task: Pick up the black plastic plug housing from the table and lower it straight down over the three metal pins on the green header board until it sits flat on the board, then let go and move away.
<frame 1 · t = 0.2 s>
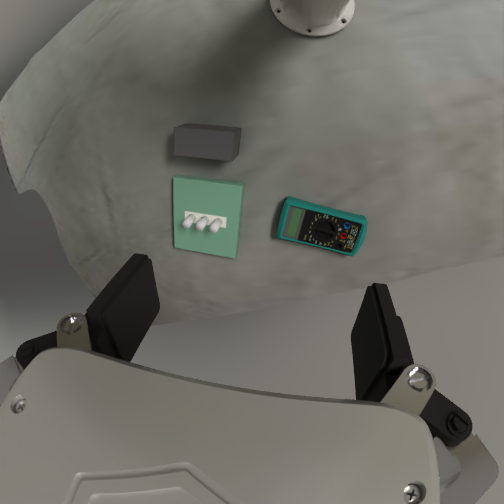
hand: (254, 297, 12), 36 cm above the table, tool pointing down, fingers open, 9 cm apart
header board: (207, 215, 51), on the table
plug housing: (211, 138, 44), on the table
digital multimeter: (321, 223, 49), on the table
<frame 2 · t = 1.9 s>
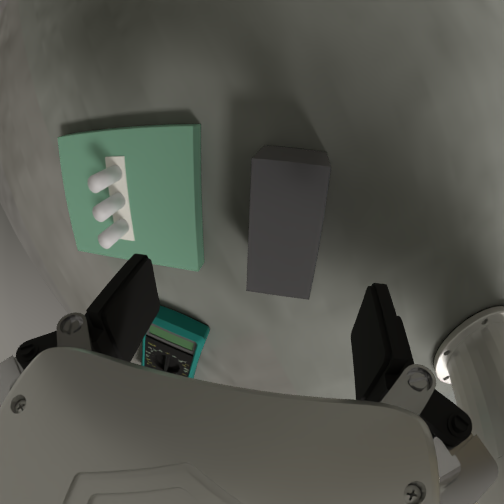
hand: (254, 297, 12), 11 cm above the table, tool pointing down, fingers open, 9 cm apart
header board: (128, 193, 24), on the table
plug housing: (289, 207, 22), on the table
digital multimeter: (174, 346, 34), on the table
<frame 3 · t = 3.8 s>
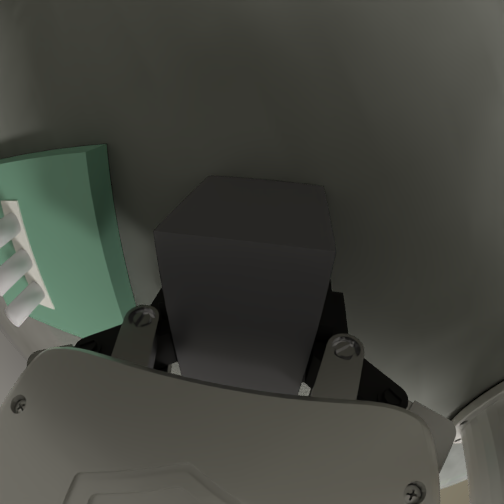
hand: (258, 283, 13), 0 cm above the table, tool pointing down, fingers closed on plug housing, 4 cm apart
header board: (41, 245, 15), on the table
plug housing: (259, 278, 13), on the table, touching gripper
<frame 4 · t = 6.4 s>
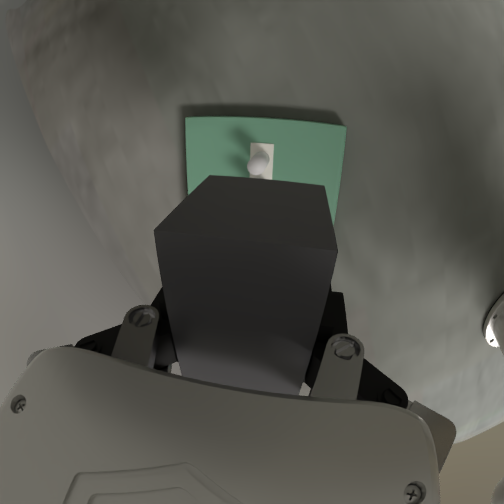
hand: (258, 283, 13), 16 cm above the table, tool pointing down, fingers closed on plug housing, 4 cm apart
header board: (263, 179, 27), on the table
plug housing: (259, 278, 13), point 16 cm above the table, touching gripper
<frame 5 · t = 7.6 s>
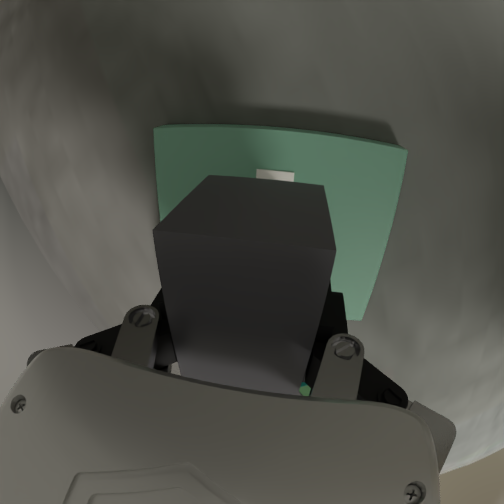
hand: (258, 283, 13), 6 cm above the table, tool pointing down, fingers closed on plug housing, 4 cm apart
header board: (273, 222, 18), on the table
plug housing: (259, 278, 13), point 6 cm above the table, touching gripper
when the fingers open (2 cm above the table, at t = 8.8 s): plug housing stays where it is, resting on header board.
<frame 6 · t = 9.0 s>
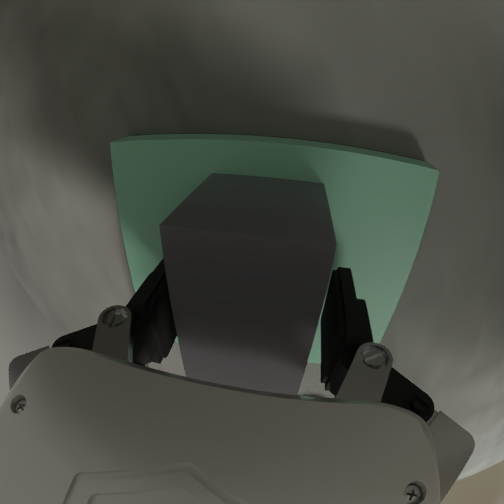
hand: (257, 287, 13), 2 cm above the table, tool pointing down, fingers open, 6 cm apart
header board: (264, 257, 15), on the table
plug housing: (260, 274, 13), point 1 cm above the table, touching header board
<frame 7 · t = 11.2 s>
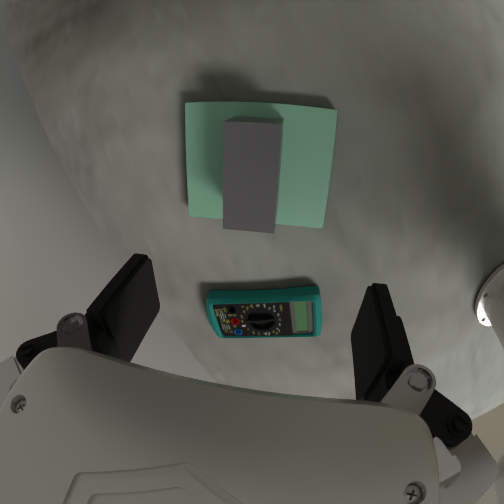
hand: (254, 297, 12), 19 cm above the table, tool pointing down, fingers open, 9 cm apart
header board: (258, 161, 28), on the table
plug housing: (257, 164, 26), point 1 cm above the table, touching header board
digital multimeter: (266, 306, 38), on the table
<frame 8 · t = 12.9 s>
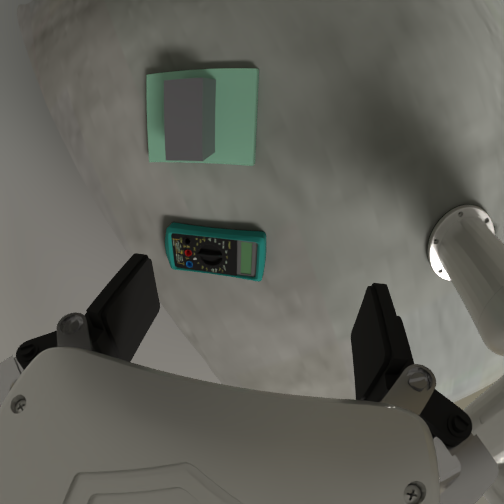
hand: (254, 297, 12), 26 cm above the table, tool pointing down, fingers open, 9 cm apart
header board: (201, 115, 33), on the table
plug housing: (197, 116, 32), point 1 cm above the table, touching header board
digital multimeter: (218, 246, 43), on the table
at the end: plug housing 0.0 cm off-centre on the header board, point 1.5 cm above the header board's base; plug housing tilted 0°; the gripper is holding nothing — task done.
